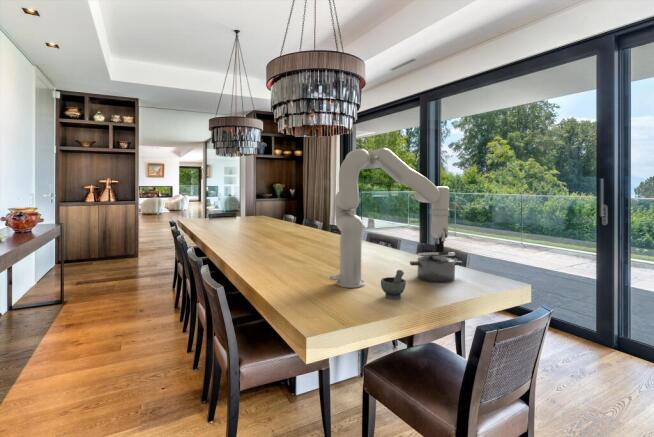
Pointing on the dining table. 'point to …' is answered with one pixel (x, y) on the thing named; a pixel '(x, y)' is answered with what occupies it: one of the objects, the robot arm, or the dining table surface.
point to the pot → (436, 269)
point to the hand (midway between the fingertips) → (439, 252)
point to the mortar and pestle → (393, 286)
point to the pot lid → (437, 253)
